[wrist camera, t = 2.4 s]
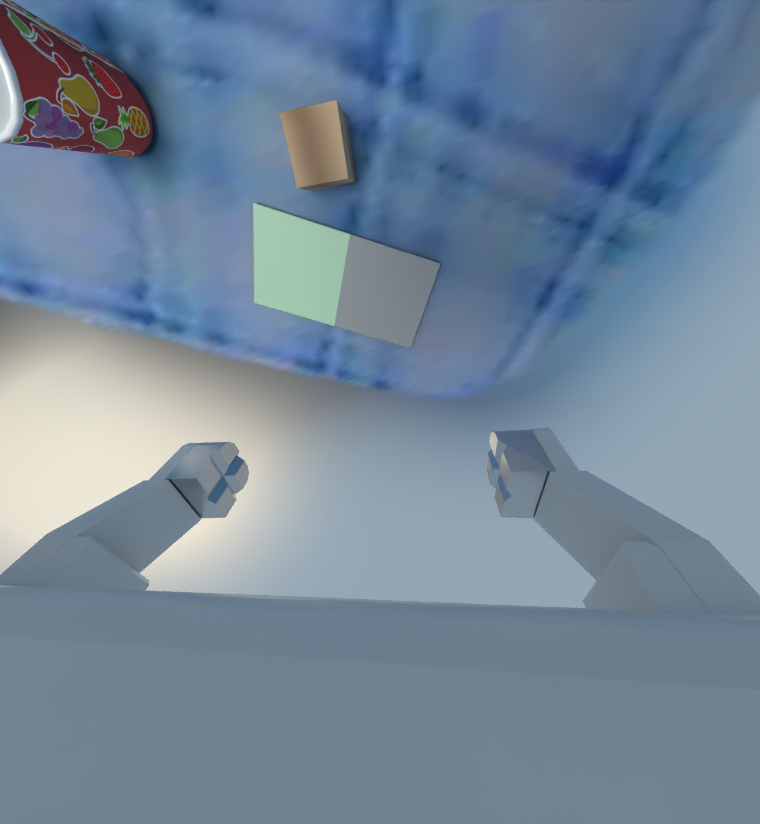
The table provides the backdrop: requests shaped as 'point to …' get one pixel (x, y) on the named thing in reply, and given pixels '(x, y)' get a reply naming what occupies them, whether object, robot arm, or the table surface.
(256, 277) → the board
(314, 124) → the walnut block
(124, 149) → the smoothie
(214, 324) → the table surface
